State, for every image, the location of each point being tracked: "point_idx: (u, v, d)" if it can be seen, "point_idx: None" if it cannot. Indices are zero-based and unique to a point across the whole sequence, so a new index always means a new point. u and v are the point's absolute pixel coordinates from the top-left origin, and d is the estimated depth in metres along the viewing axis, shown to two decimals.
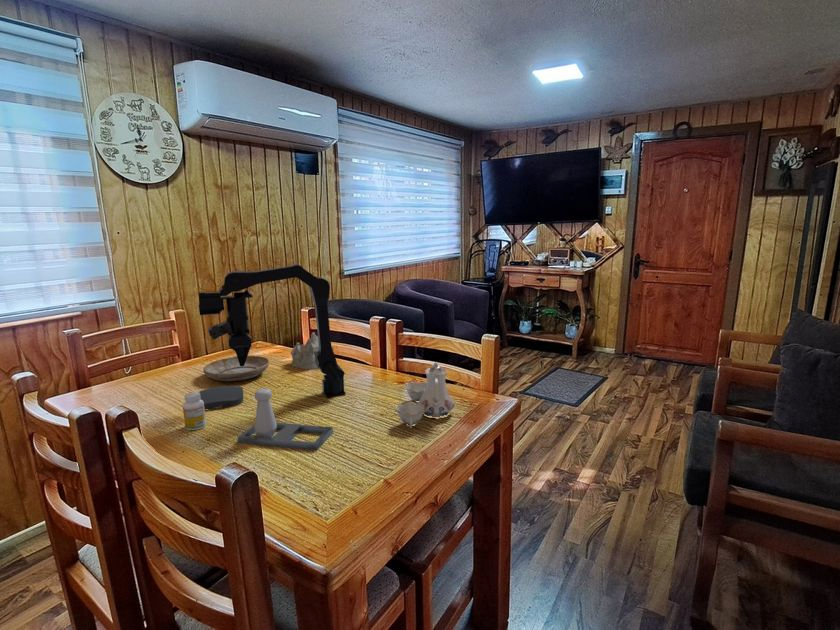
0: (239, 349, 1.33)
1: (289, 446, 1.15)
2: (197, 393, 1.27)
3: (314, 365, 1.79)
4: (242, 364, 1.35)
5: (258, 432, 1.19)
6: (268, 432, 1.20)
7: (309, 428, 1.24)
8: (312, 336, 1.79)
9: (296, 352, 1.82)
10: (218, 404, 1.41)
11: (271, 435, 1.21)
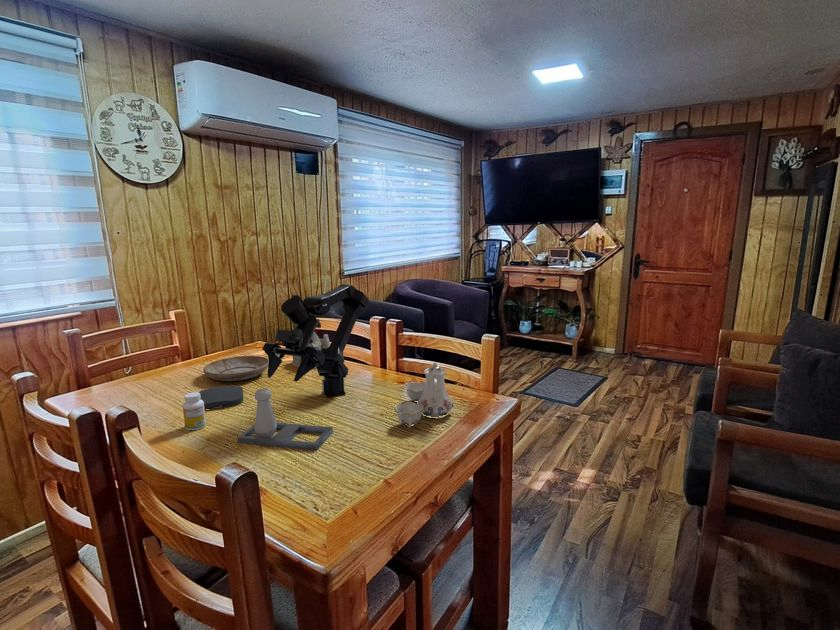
0: (305, 363, 1.27)
1: (289, 446, 1.15)
2: (197, 393, 1.27)
3: None
4: (297, 379, 1.26)
5: (258, 432, 1.19)
6: (268, 432, 1.20)
7: (309, 428, 1.24)
8: (312, 336, 1.79)
9: None
10: (218, 404, 1.41)
11: (271, 435, 1.21)
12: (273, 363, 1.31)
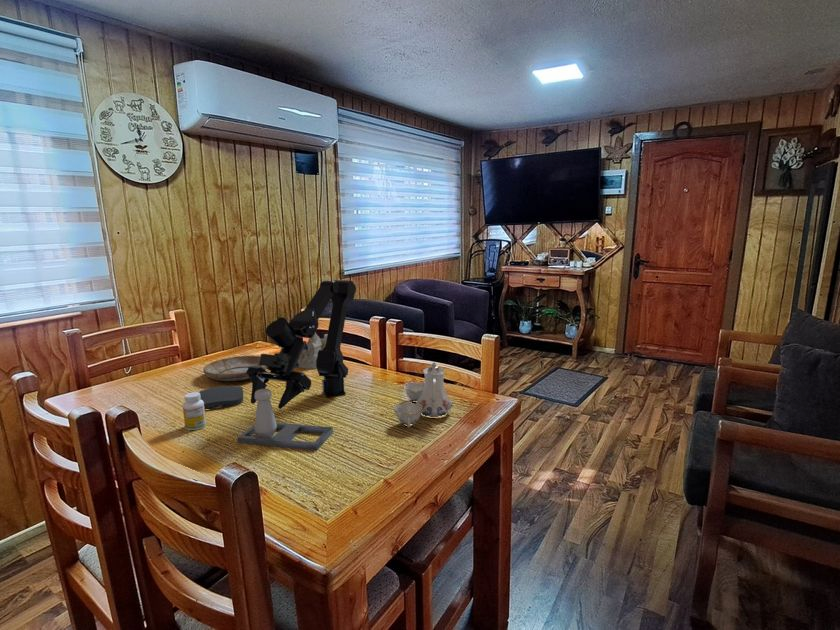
0: (290, 389, 1.22)
1: (289, 446, 1.15)
2: (197, 393, 1.27)
3: (315, 364, 1.80)
4: (281, 406, 1.20)
5: (258, 432, 1.19)
6: (268, 432, 1.20)
7: (309, 428, 1.24)
8: (313, 336, 1.79)
9: None
10: (218, 404, 1.41)
11: (271, 435, 1.21)
12: (257, 388, 1.25)
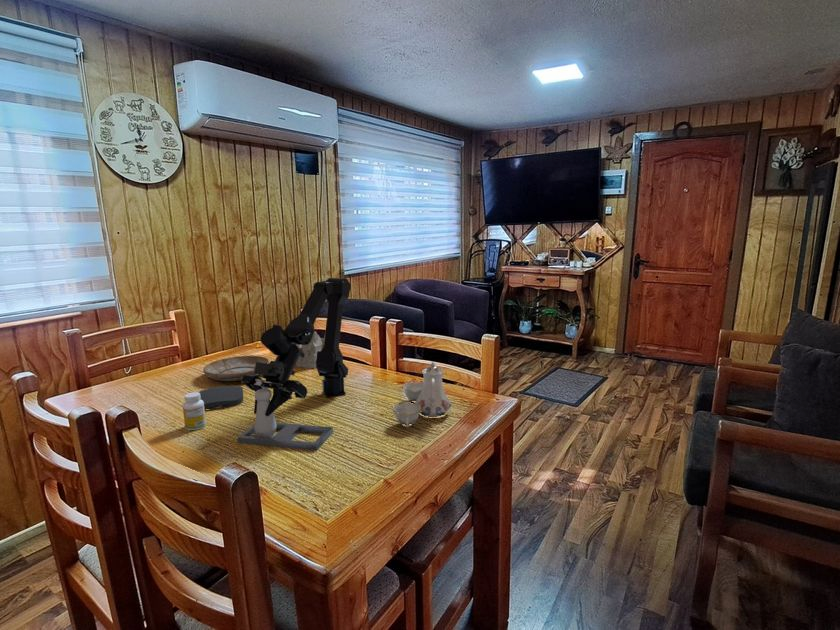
0: (278, 396, 1.21)
1: (289, 446, 1.15)
2: (197, 393, 1.27)
3: None
4: (268, 414, 1.19)
5: (258, 432, 1.19)
6: (268, 432, 1.20)
7: (309, 428, 1.24)
8: (314, 335, 1.80)
9: None
10: (218, 404, 1.41)
11: (271, 435, 1.21)
12: None
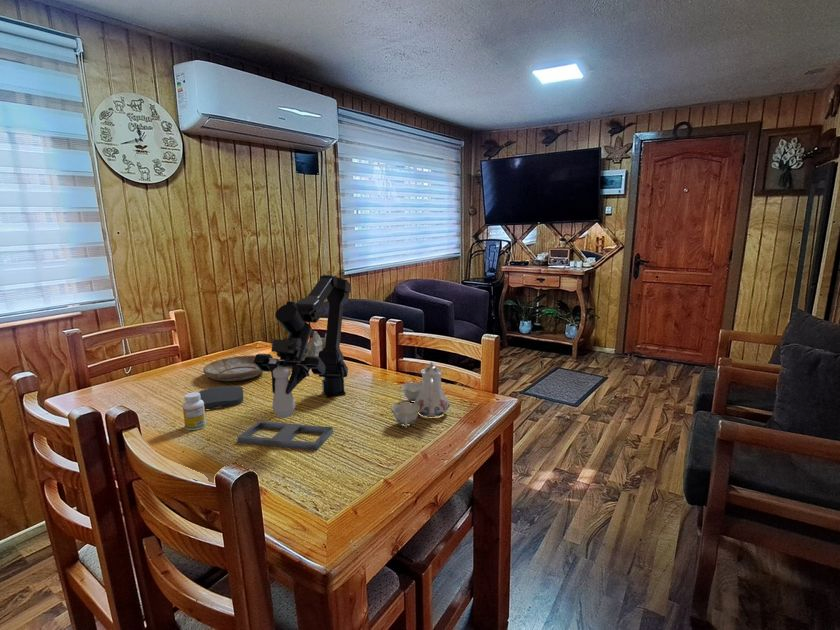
0: (296, 374, 1.19)
1: (289, 446, 1.15)
2: (197, 393, 1.27)
3: None
4: (289, 391, 1.17)
5: (278, 411, 1.16)
6: (289, 410, 1.17)
7: (309, 428, 1.24)
8: (314, 335, 1.80)
9: None
10: (218, 404, 1.41)
11: (291, 414, 1.18)
12: None
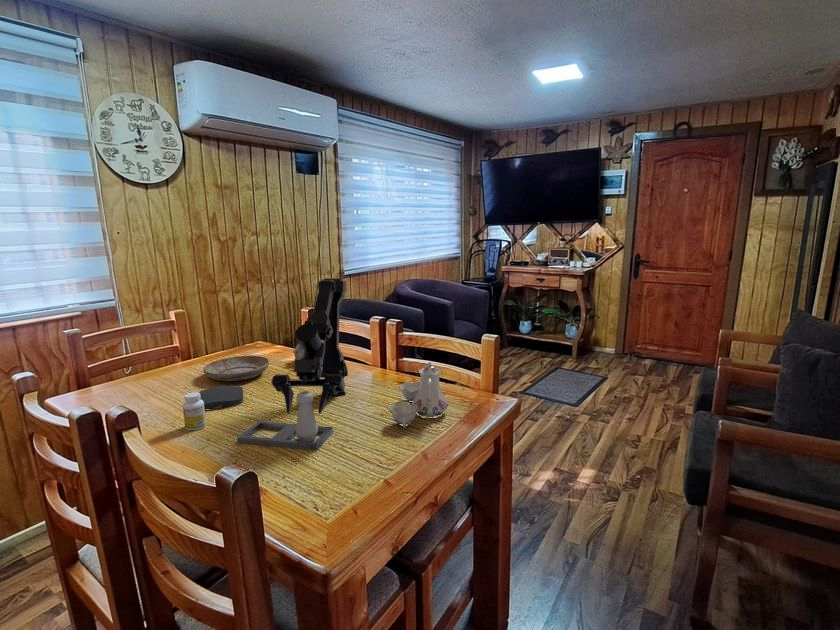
0: None
1: (289, 446, 1.15)
2: (197, 393, 1.27)
3: None
4: (321, 411, 1.17)
5: (303, 436, 1.17)
6: (313, 434, 1.18)
7: None
8: None
9: (299, 350, 1.84)
10: (218, 404, 1.41)
11: (314, 437, 1.20)
12: (289, 397, 1.19)
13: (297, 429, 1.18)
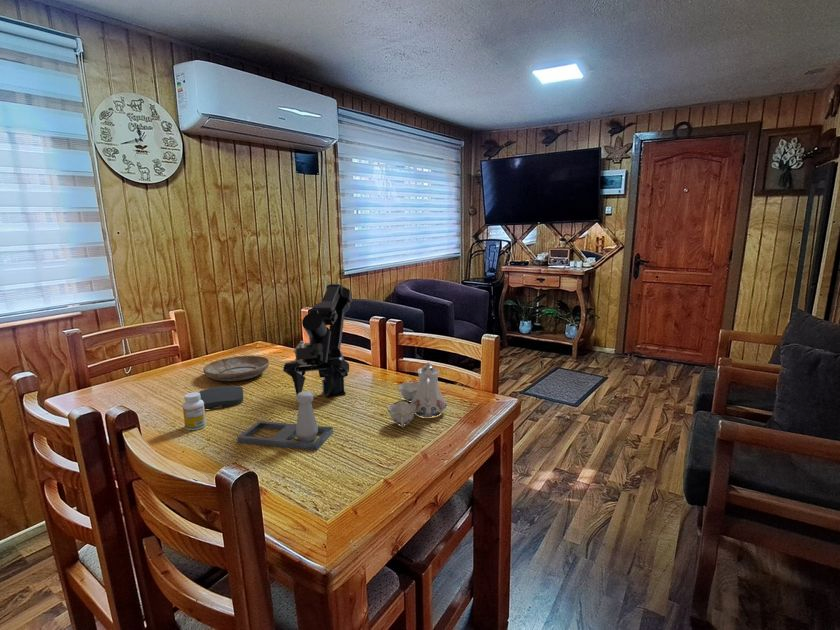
0: (332, 375, 1.27)
1: (289, 446, 1.15)
2: (197, 393, 1.27)
3: None
4: (328, 392, 1.26)
5: (303, 436, 1.17)
6: (313, 434, 1.18)
7: None
8: None
9: None
10: (218, 404, 1.41)
11: (314, 437, 1.20)
12: (298, 382, 1.29)
13: (297, 429, 1.18)
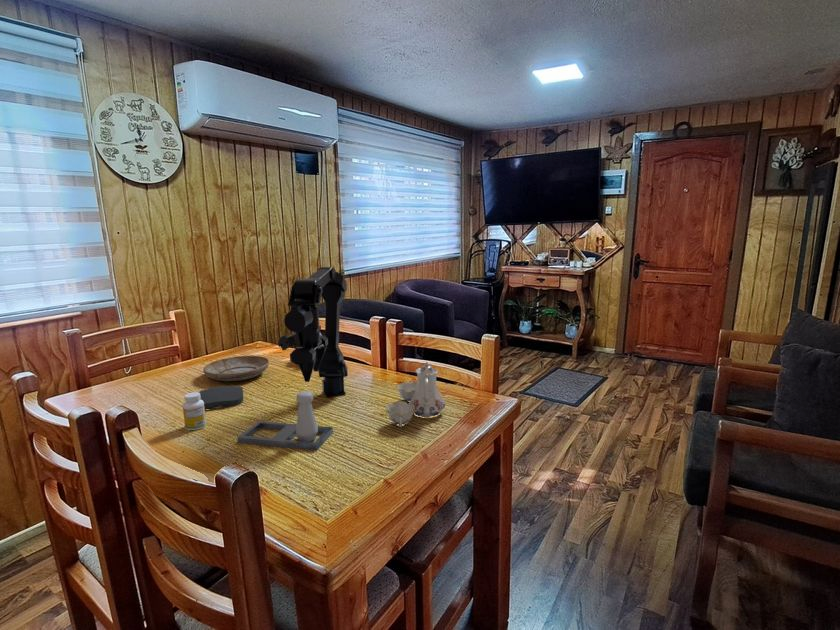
0: (303, 364, 1.24)
1: (289, 446, 1.15)
2: (197, 393, 1.27)
3: None
4: (307, 380, 1.26)
5: (303, 436, 1.17)
6: (313, 434, 1.18)
7: None
8: None
9: None
10: (218, 404, 1.41)
11: (314, 437, 1.20)
12: None
13: (297, 429, 1.18)
